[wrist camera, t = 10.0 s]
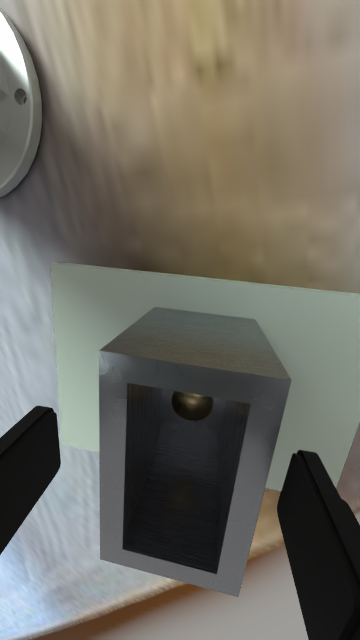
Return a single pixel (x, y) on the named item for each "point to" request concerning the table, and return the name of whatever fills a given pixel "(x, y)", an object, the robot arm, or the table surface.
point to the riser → (222, 299)
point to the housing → (187, 444)
